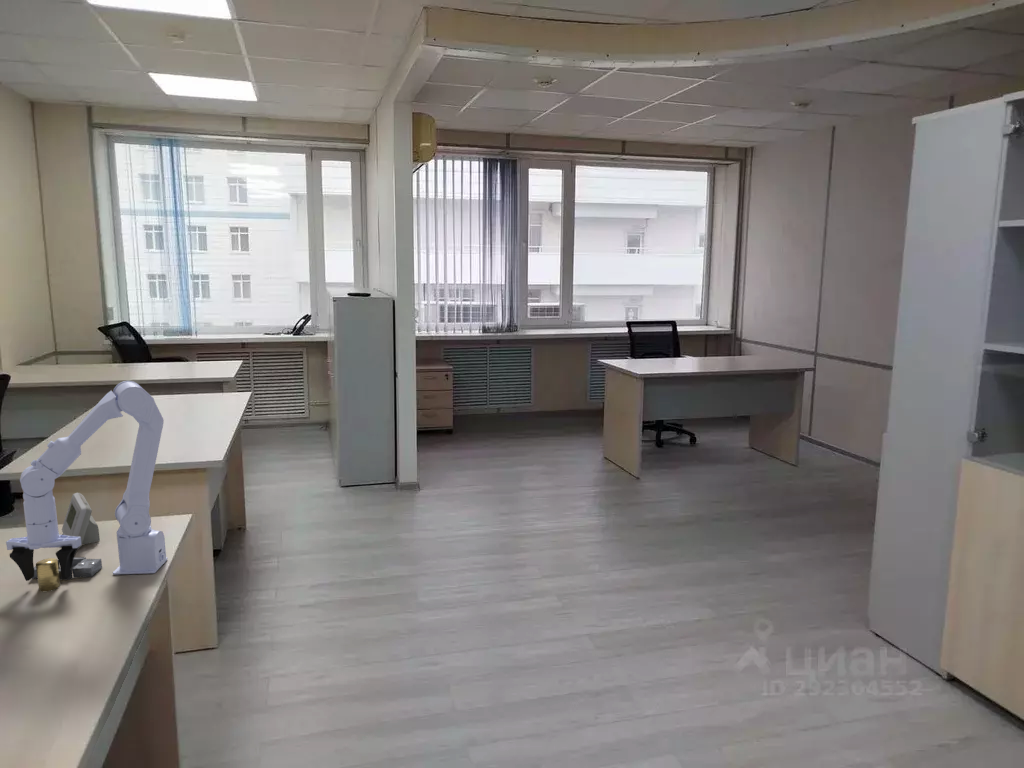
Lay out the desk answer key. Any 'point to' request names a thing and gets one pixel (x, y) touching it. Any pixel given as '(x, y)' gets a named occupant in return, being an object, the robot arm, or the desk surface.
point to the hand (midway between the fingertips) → (48, 578)
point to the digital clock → (80, 521)
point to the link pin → (48, 574)
